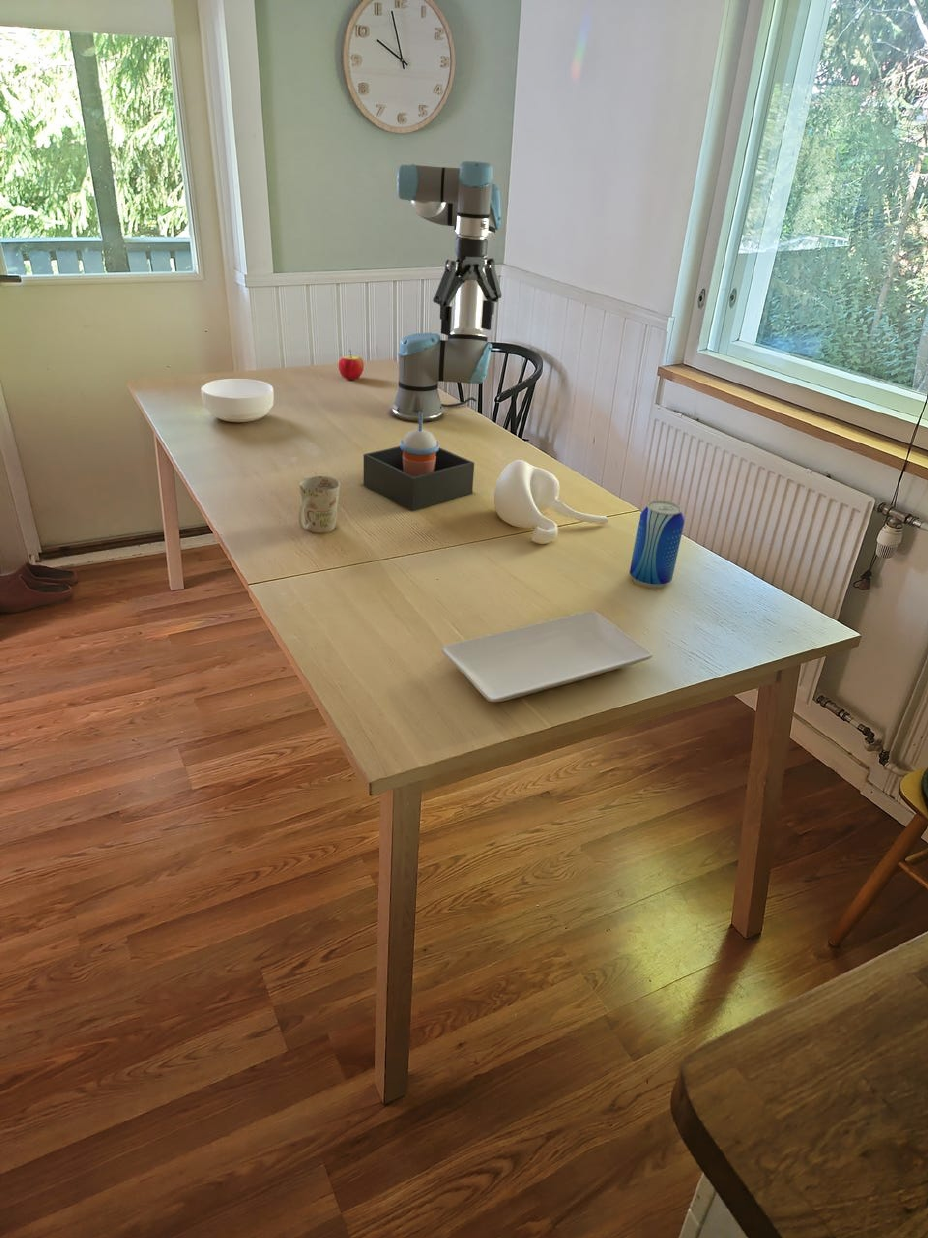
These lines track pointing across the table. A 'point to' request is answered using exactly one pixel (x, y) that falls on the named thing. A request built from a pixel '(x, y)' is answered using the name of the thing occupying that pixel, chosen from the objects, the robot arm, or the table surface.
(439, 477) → the bin
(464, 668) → the tray
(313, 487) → the mug
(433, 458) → the cup with straw
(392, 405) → the robot arm
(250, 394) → the bowl
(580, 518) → the stomach
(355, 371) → the apple
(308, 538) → the table surface
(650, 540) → the beer can
